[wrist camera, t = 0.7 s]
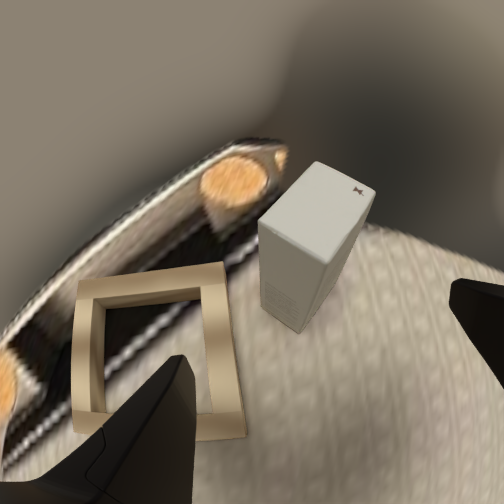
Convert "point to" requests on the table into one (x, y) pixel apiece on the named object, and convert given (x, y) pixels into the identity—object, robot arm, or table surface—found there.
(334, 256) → the skincare box
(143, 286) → the wooden picture frame
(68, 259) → the table surface
